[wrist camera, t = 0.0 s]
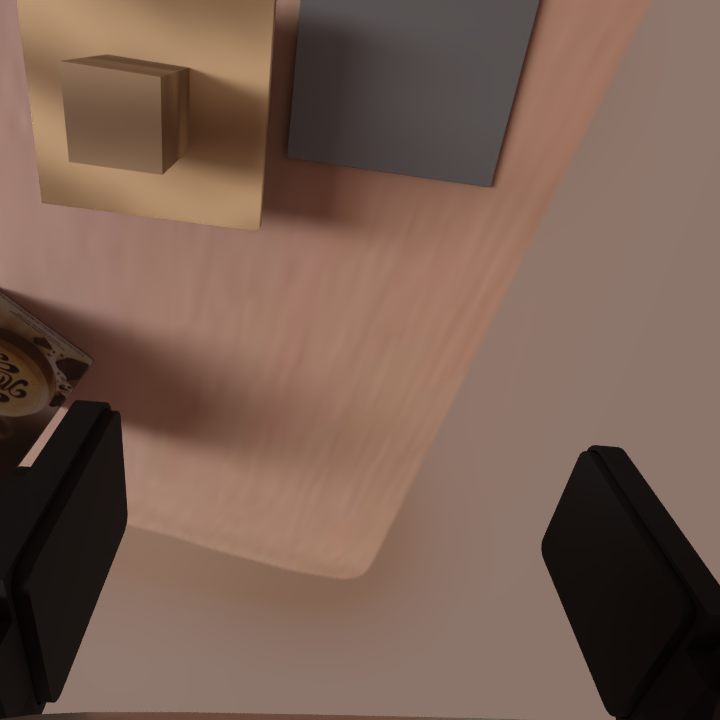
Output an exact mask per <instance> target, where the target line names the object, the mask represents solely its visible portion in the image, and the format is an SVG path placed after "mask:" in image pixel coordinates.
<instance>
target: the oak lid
mask: <svg viewBox="0 0 720 720" xmlns="http://www.w3.org/2000/svg"><path fill="white" fill-rule="evenodd" d="M17 6H18V14H19V22H20V30H21V38H22V46H23V54H24V62H25V70H26V78H27V86H28V94H29V102H30V110H31V118H32V126H33V134H34V142H35V150H36V158H37V166H38V174H39V182H40V190H41V198H42V203H46V204H53V205H61V206H69V207H76V208H84V209H92V210H100V211H107V212H115V213H123V214H130V215H138V216H146V217H154V218H161V219H169V220H177V221H184V222H192V223H200V224H207V225H215V226H223V227H231V228H238V229H246V230H254V231H260V227H261V221H262V206H263V192H264V177H265V162H266V147H267V133H268V118H269V103H270V88H271V74H272V59H273V44H274V29H275V15H276V0H17Z"/></svg>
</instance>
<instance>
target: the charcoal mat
mask: <svg viewBox="0 0 720 720" xmlns="http://www.w3.org/2000/svg"><path fill="white" fill-rule="evenodd" d="M538 4H539V0H301V3H300V15H299V27H298V38H297V50H296V61H295V73H294V85H293V96H292V108H291V120H290V131H289V143H288V155H287V158H293V159H300V160H306V161H313V162H320V163H327V164H334V165H341V166H347V167H354V168H361V169H368V170H375V171H381V172H388V173H395V174H402V175H409V176H416V177H422V178H429V179H436V180H443V181H450V182H457V183H463V184H470V185H477V186H484V187H491V183H492V179H493V175H494V171H495V168H496V164H497V160H498V156H499V152H500V149H501V145H502V141H503V137H504V133H505V130H506V126H507V122H508V118H509V114H510V111H511V107H512V103H513V99H514V95H515V91H516V88H517V84H518V80H519V76H520V72H521V69H522V65H523V61H524V57H525V53H526V50H527V46H528V42H529V38H530V34H531V31H532V27H533V23H534V19H535V15H536V12H537V8H538Z"/></svg>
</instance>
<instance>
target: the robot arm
mask: <svg viewBox="0 0 720 720" xmlns="http://www.w3.org/2000/svg"><path fill="white" fill-rule="evenodd" d="M127 515H128V514H127V498H126V484H125V470H124V457H123V443H122V429H121V417H120V413H119V412H118V411H111V407H110V405H109V403H106V402H95V401H83V400H76V401H75V402H74V403H73V404H72V405H71V407H70V408H69V410H68V411H67V413H66V415H65V416H64V418H63V419H62V421H61V422H60V424H59V425H58V427H57V428H56V430H55V431H54V433H53V434H52V436H51V437H50V439H49V440H48V442H47V443H46V445H45V446H44V448H43V449H42V451H41V452H40V454H39V455H38V457H37V458H36V460H35V461H34V463H33V464H32V466H31V467H24V466H20V467H18V468H16V469H14V470H13V472H12V473H11V474H10V475H9V476H8V478H7V479H6V481H5V482H4V484H3V485H2V486H1V488H0V720H518V719H482V718H441V717H440V718H439V717H399V716H354V715H308V714H307V715H306V714H252V713H251V714H250V713H198V712H196V713H195V712H193V713H192V712H83V713H61V714H42V712H43V709H44V707H45V704H46V702H56V701H57V700H58V698H59V697H60V694H61V692H62V690H63V687H64V684H65V682H66V680H67V677H68V675H69V672H70V670H71V667H72V664H73V662H74V659H75V657H76V654H77V652H78V649H79V647H80V644H81V641H82V639H83V636H84V634H85V631H86V628H87V626H88V624H89V621H90V618H91V616H92V613H93V611H94V608H95V606H96V603H97V600H98V598H99V595H100V592H101V590H102V587H103V585H104V583H105V580H106V578H107V575H108V572H109V570H110V567H111V565H112V562H113V560H114V557H115V554H116V552H117V549H118V547H119V544H120V542H121V539H122V537H123V534H124V531H125V528H126V523H127ZM541 550H542V556H543V559H544V561H545V564H546V566H547V569H548V571H549V573H550V576H551V578H552V581H553V583H554V586H555V588H556V590H557V593H558V595H559V597H560V600H561V603H562V605H563V607H564V610H565V612H566V615H567V617H568V620H569V622H570V624H571V627H572V629H573V632H574V634H575V636H576V639H577V641H578V643H579V646H580V649H581V651H582V653H583V656H584V658H585V661H586V663H587V666H588V668H589V670H590V672H591V675H592V678H593V680H594V682H595V684H596V687H597V690H598V692H599V695H600V697H601V699H602V702H603V704H604V706H605V708H606V710H607V712H608V713H609V714H610V715H611V716H615V717H616V720H720V585H719V584H718V582H717V581H716V579H715V578H714V577H713V575H712V574H711V572H710V571H709V569H708V568H707V567H706V565H705V564H704V563H703V561H702V560H701V558H700V557H699V555H698V554H697V552H696V551H695V550H694V548H693V547H692V546H691V544H690V543H689V541H688V540H687V538H686V537H685V536H684V534H683V533H682V531H681V530H680V528H679V527H678V526H677V524H676V523H675V521H674V520H673V519H672V517H671V516H670V514H669V513H668V512H667V510H666V509H665V507H664V506H663V505H662V503H661V502H660V500H659V499H658V497H657V496H656V495H655V493H654V492H653V490H652V489H651V488H650V486H649V485H648V483H647V482H646V480H645V479H644V478H643V476H642V475H641V473H640V472H639V471H638V469H637V468H636V466H635V465H634V464H633V462H632V461H631V459H630V458H629V457H628V455H627V454H626V452H625V451H624V450H623V449H622V448H619V447H610V446H598V445H593V446H591V447H590V448H588V450H587V451H584V452H582V453H581V454H580V456H579V458H578V460H577V462H576V464H575V466H574V469H573V471H572V473H571V476H570V478H569V480H568V483H567V485H566V487H565V489H564V492H563V494H562V496H561V499H560V501H559V503H558V505H557V508H556V510H555V512H554V515H553V517H552V519H551V521H550V524H549V526H548V528H547V531H546V533H545V535H544V538H543V540H542V548H541Z"/></svg>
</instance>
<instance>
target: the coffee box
mask: <svg viewBox="0 0 720 720" xmlns="http://www.w3.org/2000/svg"><path fill="white" fill-rule="evenodd" d="M92 363H93V361H92V359H91V358H90V357H88V356H87V355H86V354H84V353H83V352H81V351H80V350H79V349H77V348H76V347H75V346H73V345H72V344H70V343H69V342H68V341H66V340H65V339H64V338H62V337H61V336H60V335H58V334H57V333H56V332H54V331H53V330H52V329H50V328H49V327H47V326H46V325H45V324H43V323H42V322H41V321H39V320H38V319H37V318H35V317H34V316H33V315H31V314H30V313H28V312H27V311H26V310H24V309H23V308H22V307H20V306H19V305H18V304H16V303H15V302H14V301H12V300H11V299H10V298H8V297H7V296H6V295H4V294H3V293H1V292H0V488H1V486H2V485H3V484H4V482H5V481H6V479H7V478H8V476H9V475H10V474H11V473H12V472H13V470H14V469H16V468H17V467H18V466H19V464H20V463H21V462H22V460H23V459H24V458H25V456H26V455H27V453H28V452H29V451H30V449H31V448H32V447H33V445H34V444H35V442H36V441H37V440H38V438H39V437H40V435H41V434H42V433H43V431H44V430H45V428H46V427H47V425H48V424H49V423H50V421H51V420H52V418H53V417H54V416H55V414H56V413H57V411H58V410H59V408H60V407H61V406H62V404H63V403H64V401H65V400H66V399H67V397H68V396H69V394H70V393H71V392H72V390H73V389H74V387H75V386H76V385H77V383H78V382H79V380H80V379H81V377H82V376H83V375H84V373H85V372H86V371H87V369H88V368H89V367H90V366H91V364H92Z"/></svg>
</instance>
